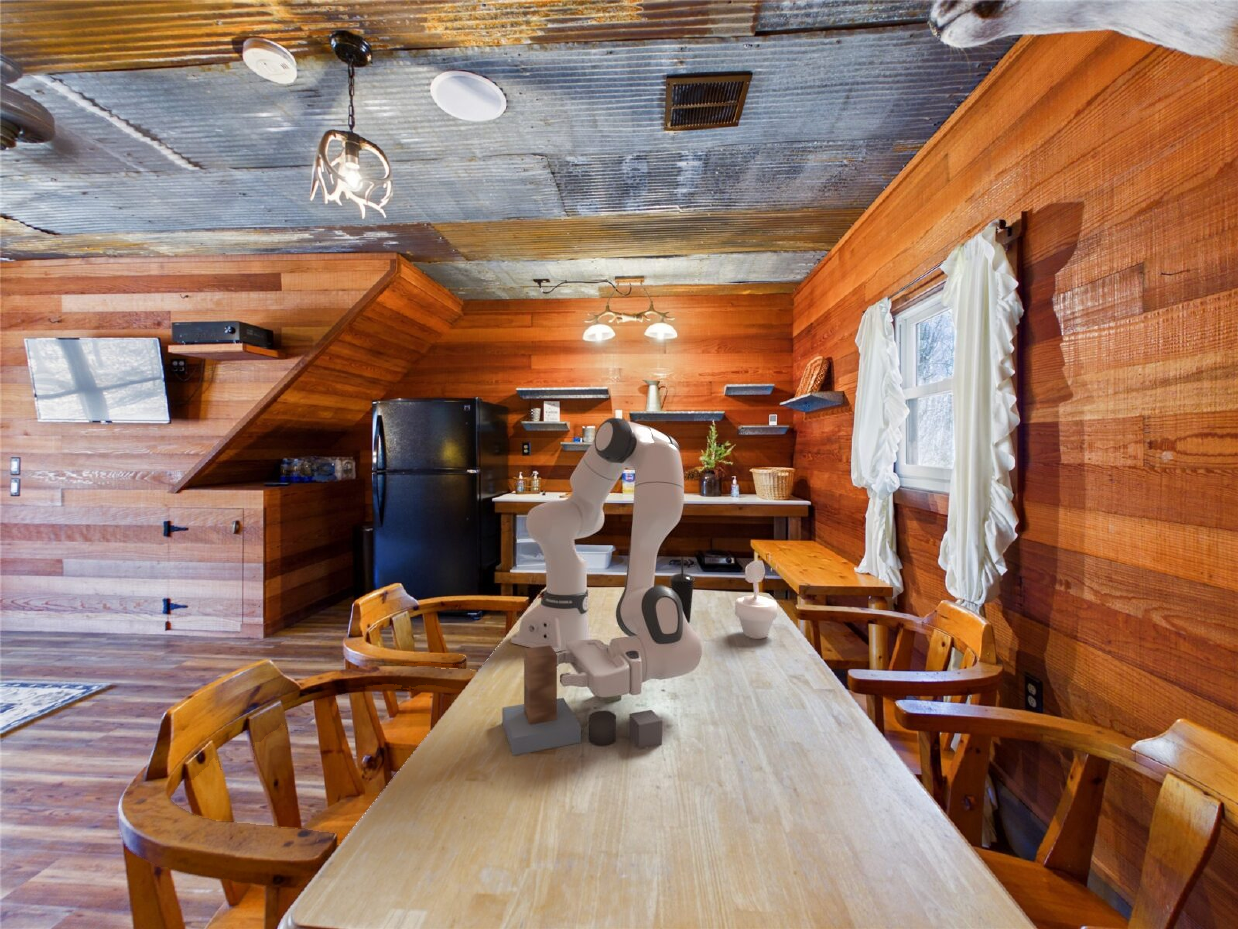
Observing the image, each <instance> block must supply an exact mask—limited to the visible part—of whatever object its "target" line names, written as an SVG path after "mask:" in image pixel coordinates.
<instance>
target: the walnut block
mask: <svg viewBox="0 0 1238 929" xmlns="http://www.w3.org/2000/svg"><path fill="white" fill-rule="evenodd" d="M523 653H524V654H523V704H524V713H525V716H526V718H527V720H528V722H529V725H531V724H537V723H542V722H548V721H554V720H557V699H558V693H557V692H558V666H557V654H558V653H557V652H555V651H554V650H553V648H552V647H551V646H542V647H534V648H530V647H527V648H524V649H523Z"/></svg>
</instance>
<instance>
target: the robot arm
mask: <svg viewBox="0 0 1238 929" xmlns="http://www.w3.org/2000/svg"><path fill="white" fill-rule="evenodd" d="M597 428H598V429H597V431H596V433H595V435H594V441H593V442H592V443H591V444H590V446H589V447H588V449H587V450H586V452H585V453H584V455H583V456H582V458H581V459H580V461H579V462H578V464H577V466H576V467H575V469H574V470H573V472H572V474H571V475H570V477H569V484H570V487H571V489H572V491H571V494H570V495H569V497H567V498H566V499H564V500H555V501H547V502H543V503H541V504H538V505H536V506H533V507H532V508H531V509H530V510H529V511H528V513H527V516H526V519H525V526H526V530H527V533H528V535H529V537H530V538H531V539H532V540H533V541H534V542H536V543H537V544H538V546H539V548H540V550H541V552H542V554H543V555H542V556H543V557H544V563H545V578H546V580H545V581H546V582H545V584H546V585H545V586H546V588H545V590H543V591H541V592H540V593H539V594H537V596H538V597H537V599H540V603H538V604H537V605H536V606H535V607H534V608H532V609H531V610H530V611H528V612H527V613H526V614H525V615H523V617H522V619H521V620H520V624H519V630H518V631H517V632H515V633H514V634H512V635H511V637H510V643H511V644H515V645H518V646H523V647H527V648H534V647H542V646H551V647H552V648H553V650H554V651H555V653H556V654H557V667H559V665H562V664H570V666H571V667H572V668H573V669H574V671H575V672H576V673H570V672H565V673H561V674H560V675H559V682H560V684H561V686H562V687H570V686H572V687H577V688H586V687H587V688H588V689H589V691H590V693H592V695H593V697H594V696H595V697H597V698H599V697H613V696H621V697H622V696H624V695H628V694H629V695H631V696H638V695H641V693H642V689H643V688H642V683H645V682H647V681H649V680H660V681H661V680H669V679H673V678H677V677H682V676H684V675H688V674H689V673H692V672H694V671H695V670H696V669H697V668H698V666H699V664H700V663H701V659H702V654H703V653H702V652H703V651H702V642H701V638H700V636H699V635H698V634H697V632H696V631H694V629H692V627H691V626H690V624H689V623H688V622H687V620H686V618H685V615H684V613H683V608H682V603H681V600H680V598H679V596H678V595H677V594H676V593H675V592H674V591H673V590H672V587H671V588H670V587H669V586H666V585H655V576H656V565H657V556H658V553H659V550H660V547H661V545H662V543H663V542H664V540H665V538H666V537H667V536H668V535H669V534H670V532H671V531H672V530H673V529H675V527H676V526H677V525H678V524H679V522H680V520H681V518H682V513H683V509H684V505H685V504H684V503H685V480H684V479H685V477H684V469H683V461H682V456H681V450H680V445H679V444H678V442H677V441H676V440H675V439H674V438H673V437H672V436H670V435H669V434H667V433H662V432H660V431H659V430H657V429H655V428H653V427H650V426H648V425H643V424H639V423H636V422H633V421H628V420H626V419H625V418H619V417H610V418H607V419H605V420H604V421H603V422H602V423H601V424H600V425H599V426H598V427H597ZM626 469H628V470H630V471H634V472H635V473H634V475H635V476H634V485H633V486H634V487H633V488H634V489H633V507H632V508H633V510H632V511H633V512H632V524H631V525H632V526H631V535H630V541H629V542H630V543H629V550H628V559H627V560H628V561H627V566H626V567H627V569H626V577H625V584H624V589H623V592H622V593H621V596H620V598H619V601H618V602H617V605H616V610H615V618H616V622H617V625H618V627H619V629H620V630H621V631H622V632H623V634H625V635H626V636H622V637H615V638H614V637H613V638H612V639H611V640H610V641H609V644H605V643H604V642H603V641H601V640H600V639H593V638H592V634H591V630H590V624H589V616H588V615H589V614H588V610H589V590H588V588H587V582H588V581H587V575H588V574H587V571H588V570H587V568H588V567H587V566H588V565H587V561H586V560H585V559H584V558H583V557H582V556H581V555H580V554H579V553H578V551H577V548H576V543H575V540H579V539H585V538H587V537H588V538H589V537H590V536H592V535H593V534H596V533H597V532H599V531H600V530H601V529H602V528H603V526H604V523H605V513H604V510H603V507H604V504H605V502H606V500H607V497H608V496H609V495H610V493H611V491H612V490H613V488H614V487H615V485H616V483H617V482H618V481H619V480H620V478H621V477H622V475H623V473H624V471H625V470H626ZM558 652H559V653H558Z"/></svg>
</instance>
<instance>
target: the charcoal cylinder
mask: <svg viewBox="0 0 1238 929" xmlns="http://www.w3.org/2000/svg"><path fill="white" fill-rule="evenodd" d="M587 729H588V732H587V733H588V734H587V735H588V738H587V739H588V742H589V743H590V744H591V745H593V746H596V747H597V746H598V747H607V746H611V745H612V744H614V743H615V742H616V740H617V715H616V713H614V712H612V711H608V710H597V711H593V712H591V713H590V714H589V715H588V728H587Z"/></svg>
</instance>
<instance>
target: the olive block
mask: <svg viewBox="0 0 1238 929" xmlns="http://www.w3.org/2000/svg"><path fill="white" fill-rule="evenodd" d="M598 698H599V699H600V700H601V701H602V703H604V704H605V703H611V702H615V701H621V700H622V695H621V696H613V697H598Z"/></svg>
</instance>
